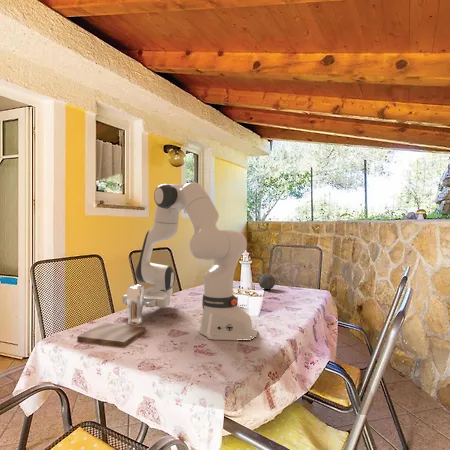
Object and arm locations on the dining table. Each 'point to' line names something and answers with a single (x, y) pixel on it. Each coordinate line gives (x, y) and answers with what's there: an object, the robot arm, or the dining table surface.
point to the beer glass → (135, 304)
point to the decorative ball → (266, 281)
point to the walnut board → (112, 334)
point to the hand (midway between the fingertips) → (136, 304)
